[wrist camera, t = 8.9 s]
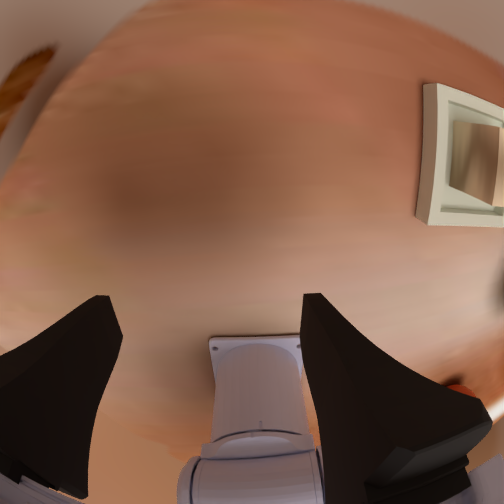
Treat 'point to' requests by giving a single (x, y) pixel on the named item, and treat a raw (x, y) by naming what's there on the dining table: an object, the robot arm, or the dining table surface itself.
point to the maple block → (478, 161)
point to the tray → (440, 156)
